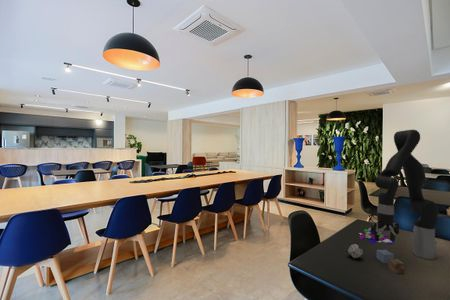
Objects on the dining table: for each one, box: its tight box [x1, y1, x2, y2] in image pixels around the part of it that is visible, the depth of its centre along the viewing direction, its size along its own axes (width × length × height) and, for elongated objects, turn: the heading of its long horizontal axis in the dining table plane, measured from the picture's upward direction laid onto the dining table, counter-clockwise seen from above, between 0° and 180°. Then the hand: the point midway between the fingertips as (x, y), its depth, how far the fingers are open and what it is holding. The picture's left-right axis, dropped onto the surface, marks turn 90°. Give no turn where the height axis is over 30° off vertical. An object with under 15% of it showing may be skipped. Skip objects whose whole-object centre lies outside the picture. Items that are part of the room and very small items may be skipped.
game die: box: [345, 242, 365, 260], centre depth 124 cm, size 9×8×10 cm
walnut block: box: [387, 258, 405, 274], centre depth 111 cm, size 4×4×5 cm
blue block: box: [376, 249, 395, 264], centre depth 121 cm, size 6×6×5 cm
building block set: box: [358, 227, 396, 245], centre depth 154 cm, size 25×20×4 cm
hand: (384, 241), depth 122 cm, fingers open, 8 cm apart
